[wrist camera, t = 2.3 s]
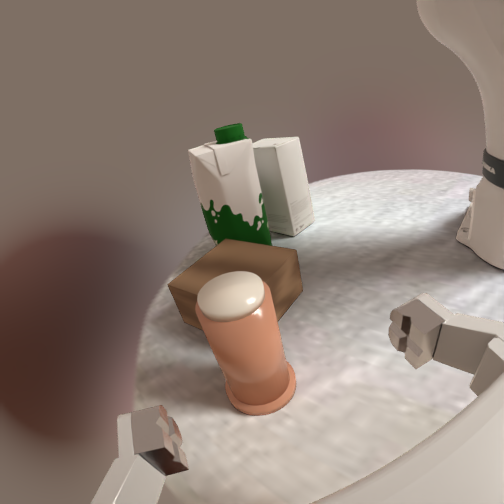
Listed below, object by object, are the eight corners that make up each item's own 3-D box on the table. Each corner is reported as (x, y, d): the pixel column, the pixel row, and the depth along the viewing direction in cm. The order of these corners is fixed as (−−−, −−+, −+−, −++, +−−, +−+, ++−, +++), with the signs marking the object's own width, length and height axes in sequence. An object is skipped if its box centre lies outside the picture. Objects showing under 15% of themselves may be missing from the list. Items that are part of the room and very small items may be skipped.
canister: (253, 352, 32) (224, 258, 26) (308, 373, 28) (293, 273, 22) (214, 397, 28) (167, 306, 22) (271, 426, 24) (237, 335, 18)
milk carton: (281, 254, 48) (253, 123, 38) (225, 275, 46) (185, 142, 36) (261, 234, 55) (235, 121, 46) (212, 251, 54) (178, 137, 44)
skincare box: (315, 222, 55) (302, 136, 47) (292, 239, 51) (275, 146, 44) (280, 215, 61) (265, 136, 53) (257, 229, 57) (237, 146, 50)
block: (236, 274, 46) (225, 238, 43) (302, 290, 39) (296, 249, 36) (184, 322, 39) (167, 284, 36) (253, 350, 32) (239, 309, 29)
